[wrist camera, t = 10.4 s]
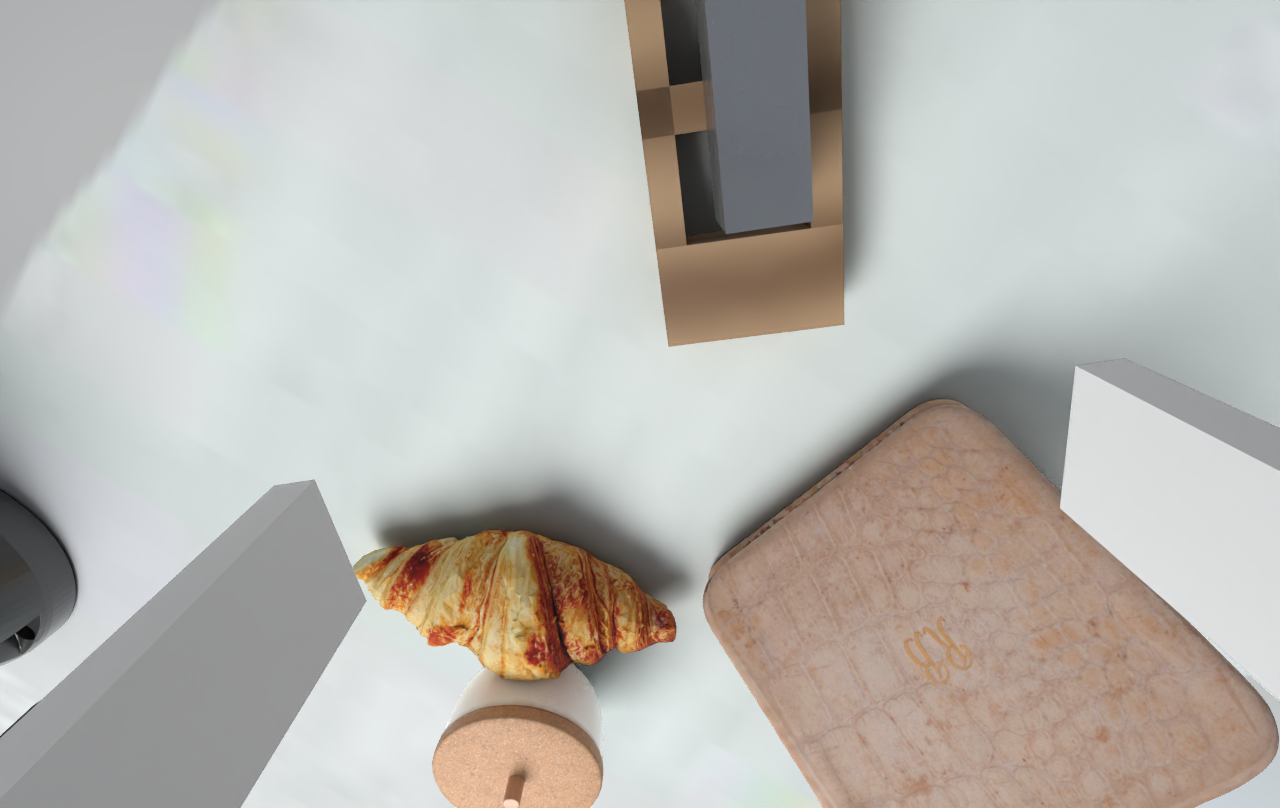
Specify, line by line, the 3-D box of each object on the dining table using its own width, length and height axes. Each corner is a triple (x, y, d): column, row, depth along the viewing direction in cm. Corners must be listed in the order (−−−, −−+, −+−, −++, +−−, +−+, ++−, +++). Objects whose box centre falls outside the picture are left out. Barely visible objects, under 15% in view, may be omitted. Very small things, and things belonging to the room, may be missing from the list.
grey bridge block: (778, 202, 32) (813, 221, 25) (710, 213, 32) (725, 234, 25) (765, -24, 28) (802, -83, 21) (688, -10, 28) (698, -63, 21)
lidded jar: (486, 604, 43) (443, 724, 34) (631, 646, 44) (624, 772, 36) (452, 705, 47) (406, 834, 39) (585, 741, 48) (569, 873, 40)
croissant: (388, 551, 46) (344, 664, 41) (356, 485, 38) (296, 615, 33) (669, 599, 46) (658, 715, 41) (696, 544, 38) (686, 680, 33)
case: (940, 367, 36) (1131, 528, 21) (1124, 579, 41) (1379, 826, 26) (684, 564, 42) (693, 794, 27) (872, 726, 47) (965, 992, 33)
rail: (828, 308, 34) (844, 324, 31) (667, 329, 35) (668, 346, 32) (817, -201, 26) (837, -245, 23) (605, -160, 27) (599, -198, 24)
